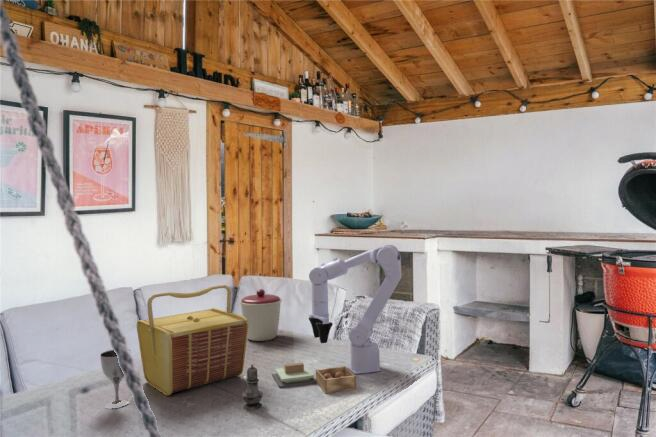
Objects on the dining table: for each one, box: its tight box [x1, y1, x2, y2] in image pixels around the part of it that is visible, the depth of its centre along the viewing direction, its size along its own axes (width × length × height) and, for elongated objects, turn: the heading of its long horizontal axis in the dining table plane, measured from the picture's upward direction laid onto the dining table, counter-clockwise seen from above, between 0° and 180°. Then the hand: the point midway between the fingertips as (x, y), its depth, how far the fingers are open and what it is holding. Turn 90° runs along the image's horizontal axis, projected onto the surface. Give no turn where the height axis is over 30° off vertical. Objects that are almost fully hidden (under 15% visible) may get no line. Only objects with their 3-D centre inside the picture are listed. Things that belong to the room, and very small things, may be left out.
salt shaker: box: [241, 364, 264, 411], centre depth 141 cm, size 6×6×12 cm
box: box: [315, 365, 357, 394], centre depth 156 cm, size 10×10×4 cm
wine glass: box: [100, 349, 131, 404], centre depth 144 cm, size 8×8×15 cm
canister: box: [239, 288, 283, 342], centre depth 213 cm, size 18×18×21 cm
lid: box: [274, 362, 315, 383], centre depth 162 cm, size 10×10×4 cm
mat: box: [271, 372, 317, 389], centre depth 162 cm, size 12×12×1 cm
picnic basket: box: [136, 284, 248, 396], centre depth 163 cm, size 29×26×30 cm
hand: (320, 340), depth 174 cm, fingers open, 7 cm apart
